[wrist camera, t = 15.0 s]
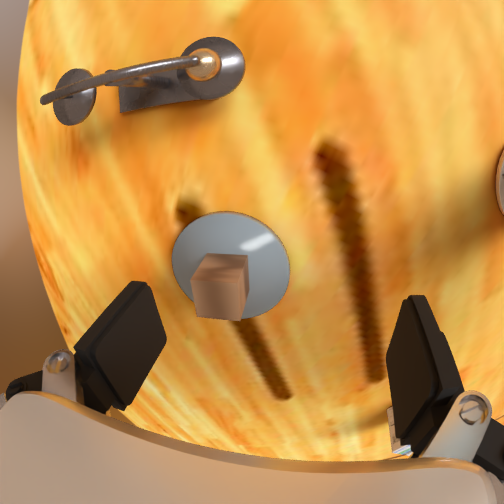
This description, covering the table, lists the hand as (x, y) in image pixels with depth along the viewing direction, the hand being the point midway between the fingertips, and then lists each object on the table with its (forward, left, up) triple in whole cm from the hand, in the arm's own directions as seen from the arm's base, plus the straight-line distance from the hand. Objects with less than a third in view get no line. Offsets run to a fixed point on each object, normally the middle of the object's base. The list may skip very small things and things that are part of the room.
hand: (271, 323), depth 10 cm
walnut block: (+8, +12, -22) cm, 26 cm away
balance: (+14, -11, -23) cm, 29 cm away
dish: (+8, +12, -23) cm, 27 cm away
